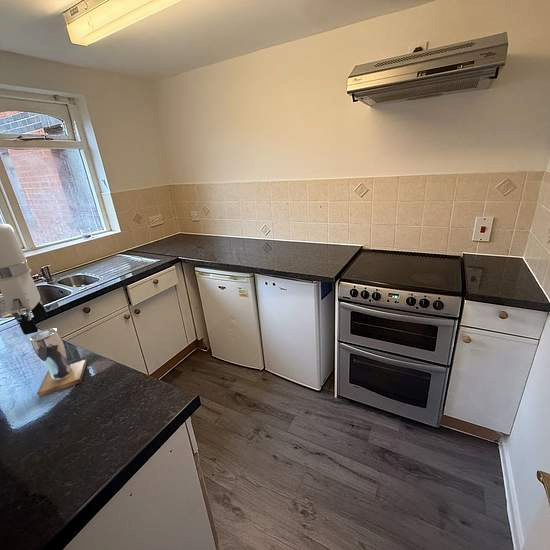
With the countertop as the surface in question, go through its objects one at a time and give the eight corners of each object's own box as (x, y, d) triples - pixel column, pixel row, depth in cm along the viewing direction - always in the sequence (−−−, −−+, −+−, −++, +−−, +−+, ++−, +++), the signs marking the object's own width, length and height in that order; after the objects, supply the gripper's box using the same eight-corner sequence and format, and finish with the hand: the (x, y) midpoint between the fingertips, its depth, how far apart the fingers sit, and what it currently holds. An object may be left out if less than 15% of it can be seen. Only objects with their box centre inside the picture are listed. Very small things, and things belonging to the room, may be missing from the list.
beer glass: (62, 383, 90) (42, 341, 84) (44, 382, 91) (22, 341, 86) (80, 367, 96) (62, 327, 91) (62, 367, 98) (43, 328, 92)
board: (39, 396, 88) (37, 392, 87) (49, 374, 97) (47, 371, 97) (81, 382, 91) (79, 378, 91) (86, 363, 101) (85, 359, 100)
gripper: (8, 265, 87) (31, 316, 93) (-20, 284, 72) (10, 343, 78) (38, 259, 90) (59, 310, 96) (17, 276, 75) (43, 335, 81)
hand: (36, 325), depth 87 cm, fingers open, 9 cm apart
